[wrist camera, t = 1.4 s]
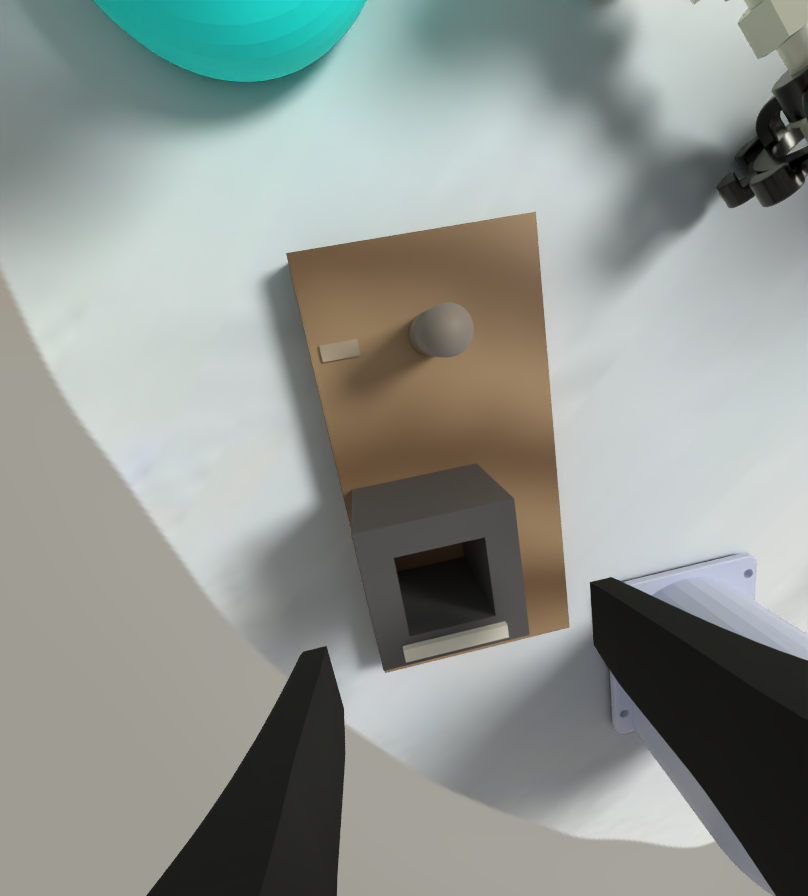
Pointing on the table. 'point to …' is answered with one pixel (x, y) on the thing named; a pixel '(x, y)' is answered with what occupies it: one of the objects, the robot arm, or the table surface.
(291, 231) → the table surface
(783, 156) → the valve
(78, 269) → the table surface
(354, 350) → the board
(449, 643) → the square tube section
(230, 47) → the donuts
